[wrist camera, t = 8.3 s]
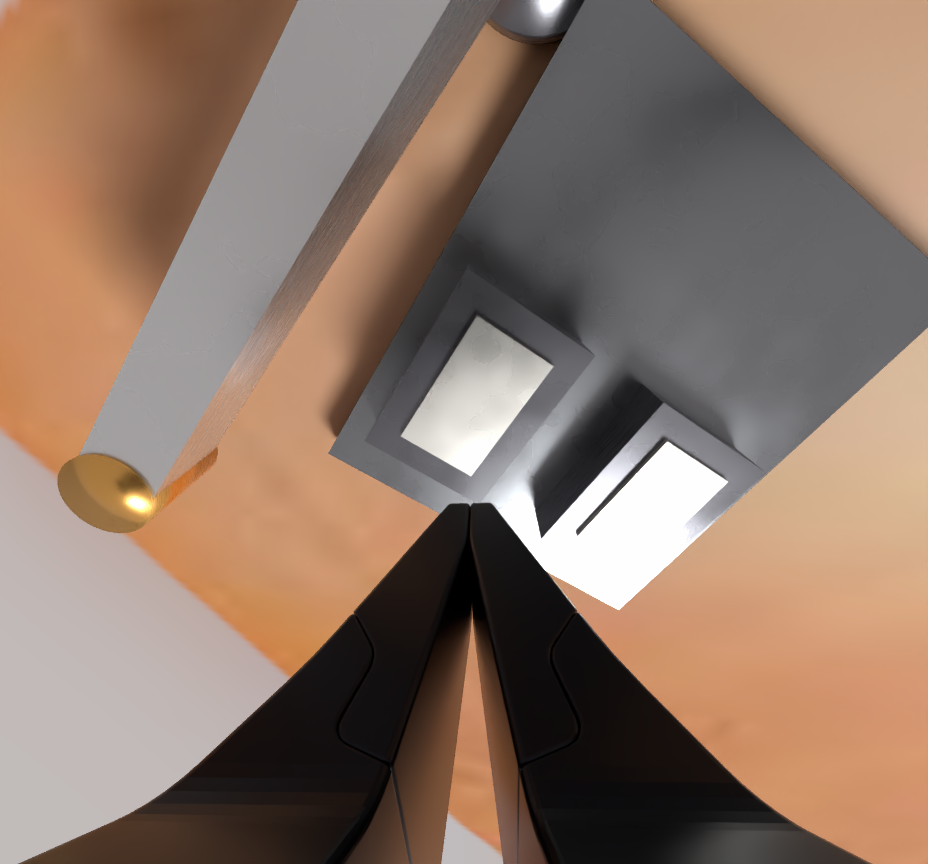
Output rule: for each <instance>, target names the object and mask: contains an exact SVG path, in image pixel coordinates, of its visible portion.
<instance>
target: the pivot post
mask: <svg viewBox="0 0 928 864" xmlns="http://www.w3.org/2000/svg"><path fill="white" fill-rule="evenodd" d="M584 1H585V0H500V1H499V3H498V4H497V6H496V8H495V9H494V11H493V12H492V14H491V15H490V17H489V19H488V20H487V23H488V24H489V25H490V26H491V27H493V28H494V29H495V30H496V31H498V32H499V33H501V34H502V35H504V36H506V37H508V38H510V39H512V40H515V41H518V42H522V43H528V44H545V43H550V42H554V41H557V40H560V39H562V38H564V36H565V34H566V33H567V31H568V29H569V27H570V26H571V24H572V22H573V20H574V19H575V17H576V15H577V13H578V11H579V10H580V8H581V6H582V4H583V3H584Z"/></svg>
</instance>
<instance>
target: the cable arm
mask: <svg viewBox="0 0 928 864" xmlns="http://www.w3.org/2000/svg"><path fill="white" fill-rule="evenodd" d="M499 1H500V0H298V2H297V4H296V6H295V8H294V10H293V12H292V14H291V16H290V19H289V21H288V23H287V25H286V27H285V29H284V31H283V33H282V35H281V37H280V39H279V41H278V44H277V46H276V48H275V50H274V52H273V54H272V56H271V58H270V60H269V62H268V64H267V66H266V68H265V71H264V73H263V75H262V77H261V79H260V81H259V83H258V85H257V87H256V89H255V91H254V93H253V95H252V98H251V100H250V102H249V104H248V106H247V108H246V110H245V112H244V114H243V116H242V118H241V120H240V123H239V125H238V127H237V129H236V131H235V133H234V135H233V137H232V139H231V141H230V143H229V145H228V147H227V150H226V152H225V154H224V156H223V158H222V160H221V162H220V164H219V166H218V168H217V170H216V172H215V174H214V177H213V179H212V181H211V183H210V185H209V187H208V189H207V191H206V193H205V195H204V197H203V199H202V202H201V204H200V206H199V208H198V210H197V212H196V214H195V216H194V218H193V220H192V222H191V224H190V226H189V229H188V231H187V233H186V235H185V237H184V239H183V241H182V243H181V245H180V247H179V249H178V251H177V253H176V256H175V258H174V260H173V262H172V264H171V266H170V268H169V270H168V272H167V274H166V276H165V278H164V281H163V283H162V285H161V287H160V289H159V291H158V293H157V295H156V297H155V299H154V301H153V303H152V305H151V308H150V310H149V312H148V314H147V316H146V318H145V320H144V322H143V324H142V326H141V328H140V330H139V333H138V335H137V337H136V339H135V341H134V343H133V345H132V347H131V349H130V351H129V353H128V355H127V357H126V360H125V362H124V364H123V366H122V368H121V370H120V372H119V374H118V376H117V378H116V380H115V382H114V384H113V387H112V389H111V391H110V393H109V395H108V397H107V399H106V401H105V403H104V405H103V407H102V409H101V412H100V414H99V416H98V418H97V420H96V422H95V424H94V426H93V428H92V430H91V432H90V434H89V436H88V439H87V441H86V443H85V445H84V447H83V449H82V451H81V453H80V455H79V456H77V457H75V458H73V459H72V460H70V461H68V462H67V463H65V464H64V465H63V467H62V468H61V470H60V471H59V474H58V488H59V492H60V494H61V496H62V499H63V500H64V502H65V503H66V505H67V506H68V507H69V508H70V509H71V510H72V512H74V513H75V514H76V515H77V516H78V517H79V518H81V519H82V520H83V521H85V522H87V523H88V524H90V525H92V526H94V527H96V528H99V529H101V530H105V531H108V532H114V533H128V532H132V531H135V530H138V529H140V528H141V527H143V526H144V525H145V524H146V523H147V522H149V521H150V520H151V519H152V518H153V517H154V516H155V515H157V514H158V513H159V512H160V511H161V510H162V509H164V508H165V507H166V506H167V505H168V504H169V503H171V502H172V501H173V500H174V499H175V498H176V497H178V496H179V495H180V494H181V493H182V492H183V491H185V490H186V489H187V488H188V487H189V486H190V485H192V484H193V483H194V482H195V481H196V480H197V479H199V478H200V477H201V476H202V475H203V474H204V473H205V472H207V471H208V470H209V469H210V468H211V467H212V466H213V465H214V463H215V461H216V459H217V454H218V449H217V446H218V444H219V442H220V441H221V439H222V438H223V436H224V435H225V433H226V431H227V430H228V428H229V427H230V425H231V424H232V422H233V420H234V419H235V417H236V416H237V414H238V412H239V411H240V409H241V408H242V406H243V405H244V403H245V401H246V400H247V398H248V397H249V395H250V394H251V392H252V390H253V389H254V387H255V386H256V384H257V383H258V381H259V379H260V378H261V376H262V375H263V373H264V372H265V370H266V368H267V367H268V365H269V364H270V362H271V361H272V359H273V357H274V356H275V354H276V353H277V351H278V349H279V348H280V346H281V345H282V343H283V342H284V340H285V338H286V337H287V335H288V334H289V332H290V331H291V329H292V327H293V326H294V324H295V323H296V321H297V320H298V318H299V316H300V315H301V313H302V312H303V310H304V309H305V307H306V305H307V304H308V302H309V301H310V299H311V297H312V296H313V294H314V293H315V291H316V290H317V288H318V286H319V285H320V283H321V282H322V280H323V279H324V277H325V275H326V274H327V272H328V271H329V269H330V268H331V266H332V264H333V263H334V261H335V260H336V258H337V257H338V255H339V253H340V252H341V250H342V249H343V247H344V245H345V244H346V242H347V241H348V239H349V238H350V236H351V234H352V233H353V231H354V230H355V228H356V227H357V225H358V223H359V222H360V220H361V219H362V217H363V216H364V214H365V212H366V211H367V209H368V208H369V206H370V205H371V203H372V201H373V200H374V198H375V197H376V195H377V193H378V192H379V190H380V189H381V187H382V186H383V184H384V182H385V181H386V179H387V178H388V176H389V175H390V173H391V171H392V170H393V168H394V167H395V165H396V164H397V162H398V160H399V159H400V157H401V156H402V154H403V153H404V151H405V149H406V148H407V146H408V145H409V143H410V141H411V140H412V138H413V137H414V135H415V134H416V132H417V130H418V129H419V127H420V126H421V124H422V123H423V121H424V119H425V118H426V116H427V115H428V113H429V112H430V110H431V108H432V107H433V105H434V104H435V102H436V101H437V99H438V97H439V96H440V94H441V93H442V91H443V89H444V88H445V86H446V85H447V83H448V82H449V80H450V78H451V77H452V75H453V74H454V72H455V71H456V69H457V67H458V66H459V64H460V63H461V61H462V60H463V58H464V56H465V55H466V53H467V52H468V50H469V49H470V47H471V45H472V44H473V42H474V41H475V39H476V38H477V36H478V34H479V33H480V31H481V30H482V28H483V26H484V25H485V23H486V22H487V20H488V19H489V17H490V15H491V14H492V12H493V11H494V9H495V8H496V6H497V4H498V3H499Z"/></svg>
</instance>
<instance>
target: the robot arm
mask: <svg viewBox="0 0 928 864" xmlns="http://www.w3.org/2000/svg"><path fill="white" fill-rule="evenodd" d="M472 613H473V627H474V636H475V644H476V651H477V659H478V667H479V675H480V683H481V691H482V699H483V706H484V714H485V722H486V730H487V738H488V746H489V754H490V761H491V769H492V777H493V785H494V793H495V801H496V809H497V816H498V824H499V832H500V840H501V848H502V856H503V863H504V864H871V863H869V862H867V861H865V860H863V859H861V858H860V857H858V856H856V855H854V854H852V853H850V852H848V851H846V850H844V849H842V848H840V847H838V846H836V845H834V844H832V843H831V842H829V841H827V840H825V839H823V838H821V837H819V836H817V835H815V834H813V833H811V832H809V831H807V830H806V829H804V828H802V827H800V826H798V825H797V824H795V823H794V822H792V821H790V820H789V819H787V818H786V817H784V816H783V815H781V814H780V813H778V812H777V811H776V810H774V809H773V808H772V807H770V806H769V805H768V804H766V803H765V802H764V801H762V800H761V799H760V798H758V797H757V796H756V795H755V794H754V793H753V792H751V791H750V790H749V789H748V788H747V787H746V786H744V785H743V784H742V783H741V782H740V781H739V780H738V779H737V778H736V777H735V776H734V775H732V774H731V773H730V772H729V771H728V770H727V769H726V768H725V767H724V766H723V765H722V764H721V763H720V762H719V761H718V760H717V759H716V758H715V757H714V756H713V755H712V754H711V753H710V752H709V751H708V750H707V749H706V748H705V747H704V746H703V745H702V744H701V743H700V742H699V741H698V740H697V739H696V738H695V737H694V736H693V735H692V734H691V733H690V732H689V731H688V730H687V729H686V728H685V727H684V726H683V725H682V724H681V723H680V722H679V721H678V720H677V719H676V718H675V717H674V716H673V715H672V714H671V713H670V712H669V711H668V710H667V709H666V708H665V707H664V706H663V705H662V704H661V703H660V702H659V701H658V700H657V699H656V698H655V697H654V696H653V695H652V694H651V693H650V692H649V691H648V690H647V689H646V688H645V687H644V686H643V684H642V683H641V682H640V681H639V680H638V679H637V678H636V677H635V676H634V675H633V674H632V673H631V672H630V671H629V670H628V669H627V668H626V667H625V666H624V665H623V664H622V662H621V661H620V660H619V659H618V658H617V657H616V656H615V655H614V654H613V653H612V652H611V650H610V649H609V648H608V647H607V646H606V644H605V643H604V642H603V641H602V640H601V639H600V637H599V636H598V635H597V634H596V633H595V632H594V630H593V629H592V628H591V627H590V625H589V624H588V623H587V621H586V620H585V619H584V618H583V616H582V615H581V614H580V613H577V609H576V608H575V607H574V605H573V604H572V603H571V602H570V600H569V599H568V598H567V597H566V595H565V594H564V593H563V592H562V590H561V589H560V588H559V587H558V585H557V584H556V583H555V582H554V580H553V579H552V578H551V577H550V575H549V574H548V573H547V572H546V570H545V569H544V568H543V567H542V565H541V564H540V563H539V562H538V560H537V559H536V558H535V557H534V555H533V554H532V553H531V552H530V550H529V549H528V548H527V547H526V545H525V544H524V543H523V542H522V540H521V539H520V538H519V536H518V535H517V534H516V533H515V531H514V530H513V529H512V528H511V526H510V525H509V524H508V523H507V521H506V520H505V519H504V518H503V516H502V515H501V514H500V513H499V511H498V510H497V509H496V508H495V506H494V505H493V504H492V503H489V502H488V503H473V504H471V507H470V505H469V504H468V503H450V504H449V505H447V507H446V508H445V509H444V510H443V511H442V512H441V513H440V514H439V516H438V517H437V518H436V519H435V520H434V521H433V522H432V524H431V525H430V526H429V527H428V528H427V529H426V530H425V531H424V533H423V534H422V535H421V536H420V537H419V538H418V539H417V541H416V542H415V543H414V544H413V545H412V546H411V547H410V548H409V550H408V551H407V552H406V553H405V554H404V555H403V556H402V558H401V559H400V560H399V561H398V562H397V563H396V564H395V565H394V567H393V568H392V569H391V570H390V571H389V572H388V573H387V575H386V576H385V577H384V578H383V579H382V580H381V581H380V582H379V584H378V585H377V586H376V587H375V588H374V589H373V590H372V592H371V593H370V594H369V595H368V596H367V597H366V598H365V599H364V601H363V602H362V603H361V604H360V605H359V606H358V607H357V609H356V610H355V611H354V614H352V615H350V616H349V617H348V618H347V620H346V621H345V622H344V623H343V624H342V625H341V626H340V627H339V629H338V630H337V631H336V632H335V633H334V634H333V635H332V636H331V637H330V638H329V639H328V640H327V642H326V643H325V644H324V645H323V646H322V647H321V648H320V649H319V650H318V651H317V652H316V653H315V654H314V656H313V657H311V658H310V659H309V660H308V661H307V662H306V663H305V664H304V665H303V666H302V667H301V668H300V669H299V670H298V671H297V672H296V673H295V674H294V675H293V676H292V677H291V678H290V679H289V680H288V681H287V682H286V683H285V684H284V685H283V686H282V687H281V688H279V689H278V690H277V691H276V692H275V693H274V694H273V695H272V696H271V697H270V698H269V699H268V700H267V701H266V702H265V703H263V704H262V705H261V706H260V707H259V708H258V709H257V710H256V711H255V712H254V713H253V714H252V715H251V716H249V717H248V718H247V719H246V720H245V721H244V722H243V723H242V724H241V725H240V726H239V727H238V728H237V729H236V730H234V731H233V732H232V733H231V734H230V735H229V736H228V737H227V738H226V739H225V740H224V741H223V742H222V743H220V744H219V745H218V746H217V747H216V748H215V749H214V750H213V751H212V752H211V753H210V754H209V755H208V756H206V757H205V758H204V759H203V760H202V761H201V762H200V763H199V764H198V765H197V766H195V767H194V768H193V769H192V770H191V771H190V772H189V773H188V774H186V775H185V776H184V777H183V778H182V779H180V780H179V781H178V782H176V783H175V784H174V785H173V786H171V787H170V788H169V789H167V790H166V791H165V792H163V793H162V794H160V795H159V796H157V797H156V798H155V799H153V800H151V801H150V802H149V803H147V804H146V805H144V806H142V807H140V808H138V809H137V810H135V811H134V812H131V813H130V814H128V815H126V816H124V817H122V818H119V819H118V820H115V821H114V822H111V823H109V824H107V825H104V826H102V827H100V828H98V829H96V830H93V831H91V832H89V833H86V834H84V835H82V836H80V837H77V838H75V839H73V840H71V841H69V842H66V843H64V844H62V845H59V846H57V847H55V848H53V849H50V850H48V851H46V852H44V853H41V854H39V855H37V856H35V857H32V858H30V859H28V860H26V861H24V862H21V863H19V864H441V860H442V852H443V844H444V836H445V829H446V821H447V813H448V805H449V797H450V789H451V782H452V774H453V766H454V758H455V750H456V742H457V734H458V726H459V719H460V711H461V703H462V695H463V687H464V679H465V671H466V663H467V655H468V648H469V640H470V632H471V621H472Z"/></svg>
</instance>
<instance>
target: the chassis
mask: <svg viewBox="0 0 928 864" xmlns="http://www.w3.org/2000/svg"><path fill="white" fill-rule="evenodd" d="M927 328H928V258H927V257H926V256H925V255H924V254H923V253H922V252H921V251H920V250H919V249H917V248H916V247H915V246H914V245H913V244H912V243H911V242H910V241H909V240H908V239H907V238H906V237H905V236H903V235H902V234H901V233H900V232H899V231H898V230H897V229H896V228H895V227H894V226H893V225H892V224H891V223H889V222H888V221H887V220H886V219H885V218H884V217H883V216H882V215H881V214H880V213H879V212H878V211H877V210H875V209H874V208H873V207H872V206H871V205H870V204H869V203H868V202H867V201H866V200H865V199H864V198H863V197H861V196H860V195H859V194H858V193H857V192H856V191H855V190H854V189H853V188H852V187H851V186H850V185H849V184H847V183H846V182H845V181H844V180H843V179H842V178H841V177H840V176H839V175H838V174H837V173H836V172H835V171H833V170H832V169H831V168H830V167H829V166H828V165H827V164H826V163H825V162H824V161H823V160H822V159H821V158H819V157H818V156H817V155H816V154H815V153H814V152H813V151H812V150H811V149H810V148H809V147H808V146H807V145H805V144H804V143H803V142H802V141H801V140H800V139H799V138H798V137H797V136H796V135H795V134H794V133H793V132H792V131H790V130H789V129H788V128H787V127H786V126H785V125H784V124H783V123H782V122H781V121H780V120H779V119H778V118H776V117H775V116H774V115H773V114H772V113H771V112H770V111H769V110H768V109H767V108H766V107H765V106H764V105H762V104H761V103H760V102H759V101H758V100H757V99H756V98H755V97H754V96H753V95H752V94H751V93H750V92H748V91H747V90H746V89H745V88H744V87H743V86H742V85H741V84H740V83H739V82H738V81H737V80H736V79H734V78H733V77H732V76H731V75H730V74H729V73H728V72H727V71H726V70H725V69H724V68H723V67H722V66H720V65H719V64H718V63H717V62H716V61H715V60H714V59H713V58H712V57H711V56H710V55H709V54H708V53H706V52H705V51H704V50H703V49H702V48H701V47H700V46H699V45H698V44H697V43H696V42H695V41H694V40H692V39H691V38H690V37H689V36H688V35H687V34H686V33H685V32H684V31H683V30H682V29H681V28H680V27H678V26H677V25H676V24H675V23H674V22H673V21H672V20H671V19H670V18H669V17H668V16H667V15H666V14H664V13H663V12H662V11H661V10H660V9H659V8H658V7H657V6H656V5H655V4H654V3H653V2H652V1H650V0H585V1H584V3H583V4H582V6H581V8H580V10H579V11H578V13H577V15H576V17H575V19H574V20H573V22H572V24H571V26H570V27H569V29H568V31H567V33H566V34H565V36H564V38H563V40H562V42H561V43H560V45H559V47H558V49H557V50H556V52H555V54H554V56H553V57H552V59H551V61H550V63H549V64H548V66H547V68H546V70H545V72H544V73H543V75H542V77H541V79H540V80H539V82H538V84H537V86H536V87H535V89H534V91H533V93H532V95H531V96H530V98H529V100H528V102H527V103H526V105H525V107H524V109H523V110H522V112H521V114H520V116H519V117H518V119H517V121H516V123H515V125H514V126H513V128H512V130H511V132H510V133H509V135H508V137H507V139H506V140H505V142H504V144H503V146H502V147H501V149H500V151H499V153H498V155H497V156H496V158H495V160H494V162H493V163H492V165H491V167H490V169H489V170H488V172H487V174H486V176H485V178H484V179H483V181H482V183H481V185H480V186H479V188H478V190H477V192H476V193H475V195H474V197H473V199H472V200H471V202H470V204H469V206H468V208H467V209H466V211H465V213H464V215H463V216H462V218H461V220H460V222H459V223H458V225H457V227H456V229H455V231H454V232H453V234H452V236H451V238H450V239H449V241H448V243H447V245H446V246H445V248H444V250H443V252H442V253H441V255H440V257H439V259H438V261H437V262H436V264H435V266H434V268H433V269H432V271H431V273H430V275H429V276H428V278H427V280H426V282H425V284H424V285H423V287H422V289H421V291H420V292H419V294H418V296H417V298H416V299H415V301H414V303H413V305H412V306H411V308H410V310H409V312H408V314H407V315H406V317H405V319H404V321H403V322H402V324H401V326H400V328H399V329H398V331H397V333H396V335H395V337H394V338H393V340H392V342H391V344H390V345H389V347H388V349H387V351H386V352H385V354H384V356H383V358H382V359H381V361H380V363H379V365H378V367H377V368H376V370H375V372H374V374H373V375H372V377H371V379H370V381H369V382H368V384H367V386H366V388H365V389H364V391H363V393H362V395H361V397H360V398H359V400H358V402H357V404H356V405H355V407H354V409H353V411H352V412H351V414H350V416H349V418H348V420H347V421H346V423H345V425H344V427H343V428H342V430H341V432H340V434H339V435H338V437H337V439H336V441H335V442H334V444H333V446H332V448H331V450H330V451H329V453H328V454H330V455H332V456H334V457H336V458H338V459H339V460H341V461H343V462H345V463H347V464H349V465H351V466H352V467H354V468H356V469H358V470H360V471H362V472H364V473H365V474H367V475H369V476H371V477H373V478H375V479H377V480H378V481H380V482H382V483H384V484H386V485H388V486H390V487H391V488H393V489H395V490H397V491H399V492H401V493H403V494H404V495H406V496H408V497H410V498H412V499H414V500H416V501H417V502H419V503H421V504H423V505H425V506H427V507H429V508H430V509H432V510H434V511H436V512H438V513H441V512H442V511H443V510H444V509H445V508H446V507H447V505H449V504H450V503H468V504H469V505H470V507H471V504H473V503H488V502H489V503H492V504H493V505H494V506H495V508H496V509H497V510H498V511H499V513H500V514H501V515H502V516H503V518H504V519H505V520H506V521H507V523H508V524H509V525H510V526H511V528H512V529H513V530H514V531H515V533H516V534H517V535H518V536H519V538H520V539H521V540H522V542H523V543H524V544H525V545H526V547H527V548H528V549H529V550H530V552H531V553H532V554H533V555H534V557H535V558H536V559H537V560H538V562H539V563H540V564H541V565H542V567H543V568H544V569H545V570H546V571H547V572H549V573H551V574H553V575H555V576H557V577H558V578H560V579H562V580H564V581H566V582H568V583H570V584H571V585H573V586H575V587H577V588H579V589H581V590H583V591H584V592H586V593H588V594H590V595H592V596H594V597H596V598H597V599H599V600H601V601H603V602H605V603H607V604H609V605H610V606H612V607H614V608H616V609H618V610H619V609H620V608H621V607H622V606H623V605H624V604H625V603H626V602H627V601H629V600H630V599H631V598H632V597H633V596H634V595H635V594H636V593H637V592H638V591H640V590H641V589H642V588H643V587H644V586H645V585H646V584H647V583H648V582H649V581H650V580H652V579H653V578H654V577H655V576H656V575H657V574H658V573H659V572H660V571H661V570H663V569H664V568H665V567H666V566H667V565H668V564H669V563H670V562H671V561H672V560H673V559H675V558H676V557H677V556H678V555H679V554H680V553H681V552H682V551H683V550H684V549H686V548H687V547H688V546H689V545H690V544H691V543H692V542H693V541H694V540H695V539H696V538H698V537H699V536H700V535H701V534H702V533H703V532H704V531H705V530H706V529H707V528H709V527H710V526H711V525H712V524H713V523H714V522H715V521H716V520H717V519H718V518H719V517H721V516H722V515H723V514H724V513H725V512H726V511H727V510H728V509H729V508H730V507H732V506H733V505H734V504H735V503H736V502H737V501H738V500H739V499H740V498H741V497H742V496H744V495H745V494H746V493H747V492H748V491H749V490H750V489H751V488H752V487H753V486H755V485H756V484H757V483H758V482H759V481H760V480H761V479H762V478H763V477H764V476H766V475H767V474H768V473H769V472H770V471H771V470H772V469H773V468H774V467H775V466H776V465H778V464H779V463H780V462H781V461H782V460H783V459H784V458H785V457H786V456H787V455H789V454H790V453H791V452H792V451H793V450H794V449H795V448H796V447H797V446H798V445H799V444H801V443H802V442H803V441H804V440H805V439H806V438H807V437H808V436H809V435H810V434H812V433H813V432H814V431H815V430H816V429H817V428H818V427H819V426H820V425H821V424H822V423H824V422H825V421H826V420H827V419H828V418H829V417H830V416H831V415H832V414H833V413H835V412H836V411H837V410H838V409H839V408H840V407H841V406H842V405H843V404H844V403H845V402H847V401H848V400H849V399H850V398H851V397H852V396H853V395H854V394H855V393H856V392H858V391H859V390H860V389H861V388H862V387H863V386H864V385H865V384H866V383H867V382H868V381H870V380H871V379H872V378H873V377H874V376H875V375H876V374H877V373H878V372H879V371H881V370H882V369H883V368H884V367H885V366H886V365H887V364H888V363H889V362H890V361H891V360H893V359H894V358H895V357H896V356H897V355H898V354H899V353H900V352H901V351H902V350H904V349H905V348H906V347H907V346H908V345H909V344H910V343H911V342H912V341H913V340H914V339H916V338H917V337H918V336H919V335H920V334H921V333H922V332H923V331H924V330H925V329H927Z"/></svg>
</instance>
